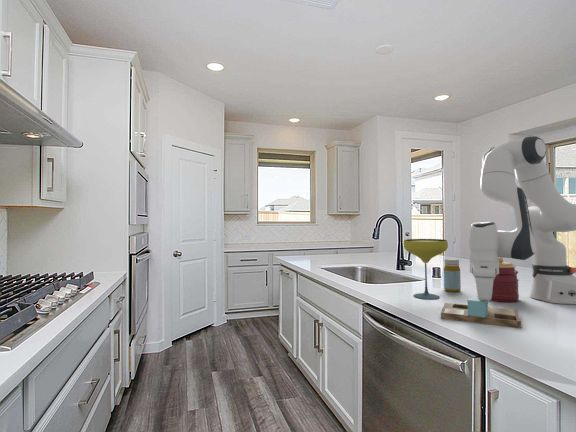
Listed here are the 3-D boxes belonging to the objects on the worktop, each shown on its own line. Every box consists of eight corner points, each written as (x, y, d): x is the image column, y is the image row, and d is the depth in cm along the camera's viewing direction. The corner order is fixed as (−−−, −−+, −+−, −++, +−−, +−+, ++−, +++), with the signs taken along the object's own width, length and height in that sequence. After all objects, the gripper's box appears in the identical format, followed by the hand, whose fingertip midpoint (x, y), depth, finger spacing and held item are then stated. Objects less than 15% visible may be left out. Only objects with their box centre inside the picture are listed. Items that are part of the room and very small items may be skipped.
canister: (525, 303, 134) (524, 259, 134) (489, 302, 136) (488, 258, 137) (510, 295, 147) (509, 255, 147) (478, 295, 149) (477, 255, 149)
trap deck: (517, 315, 117) (517, 309, 117) (521, 328, 105) (521, 321, 105) (445, 307, 129) (445, 302, 129) (440, 318, 116) (440, 312, 116)
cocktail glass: (401, 291, 158) (400, 239, 158) (442, 292, 155) (440, 238, 156) (409, 301, 140) (407, 241, 141) (455, 302, 138) (453, 241, 138)
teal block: (487, 314, 113) (487, 299, 113) (484, 317, 109) (484, 302, 109) (471, 312, 116) (471, 297, 116) (467, 314, 112) (467, 299, 112)
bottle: (463, 292, 155) (462, 259, 155) (448, 292, 155) (447, 260, 156) (456, 288, 162) (455, 258, 162) (441, 289, 162) (441, 258, 163)
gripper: (474, 264, 127) (475, 300, 127) (472, 271, 109) (473, 314, 109) (494, 264, 124) (494, 302, 123) (495, 273, 106) (496, 316, 106)
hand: (485, 308), depth 116 cm, fingers closed
